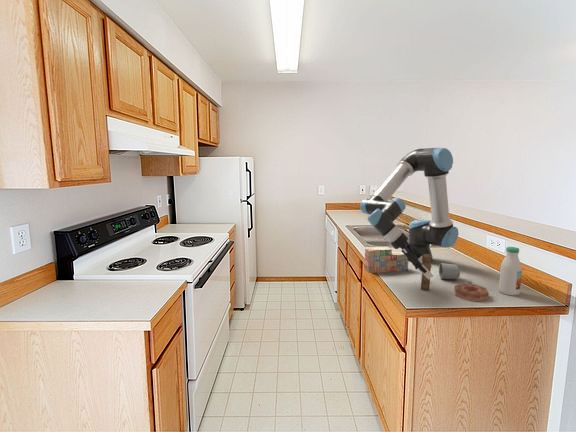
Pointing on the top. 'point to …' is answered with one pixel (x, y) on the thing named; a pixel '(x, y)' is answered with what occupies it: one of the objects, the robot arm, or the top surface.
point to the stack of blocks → (384, 260)
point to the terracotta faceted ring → (471, 292)
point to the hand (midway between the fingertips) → (430, 272)
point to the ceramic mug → (449, 271)
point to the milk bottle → (510, 273)
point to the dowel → (424, 281)
